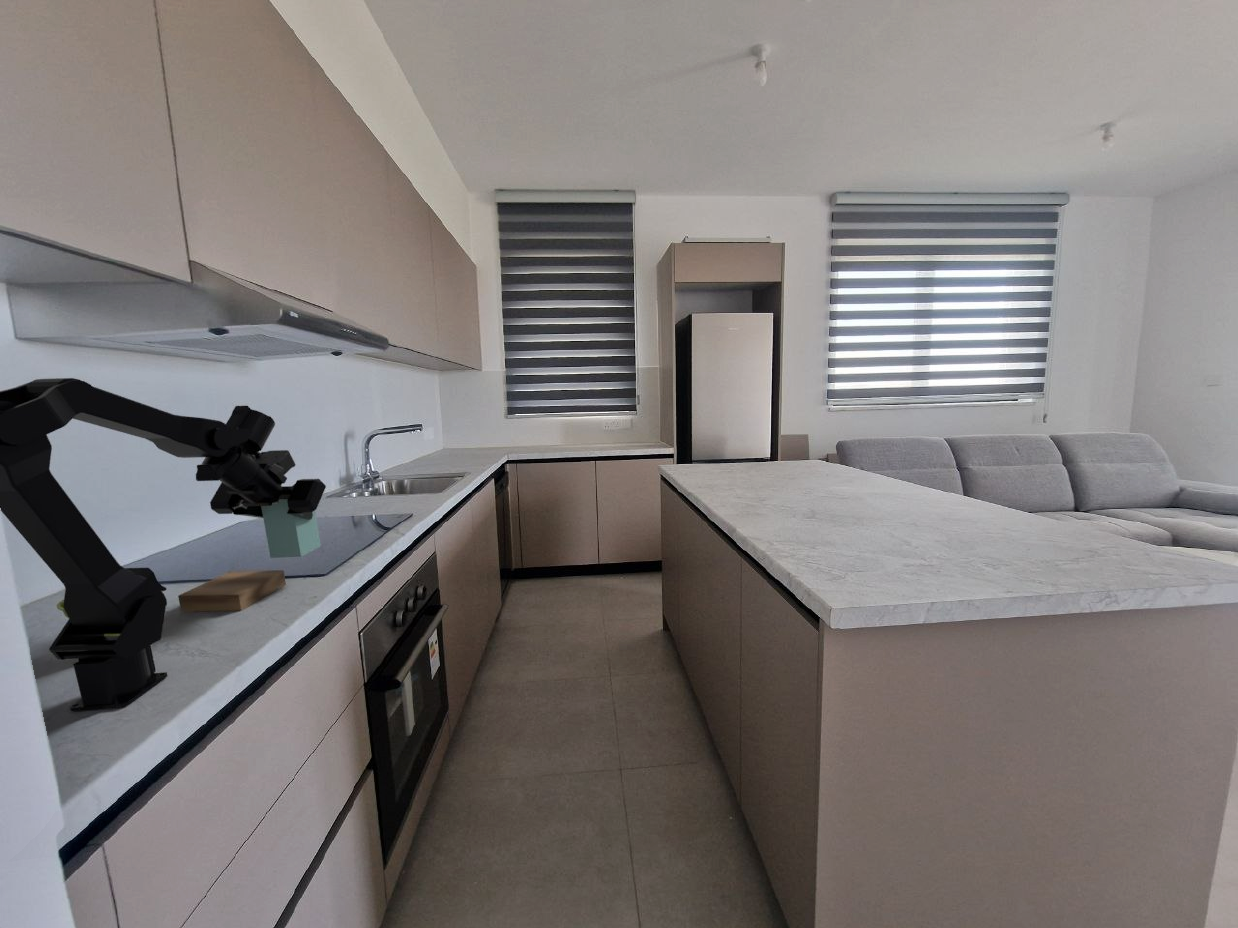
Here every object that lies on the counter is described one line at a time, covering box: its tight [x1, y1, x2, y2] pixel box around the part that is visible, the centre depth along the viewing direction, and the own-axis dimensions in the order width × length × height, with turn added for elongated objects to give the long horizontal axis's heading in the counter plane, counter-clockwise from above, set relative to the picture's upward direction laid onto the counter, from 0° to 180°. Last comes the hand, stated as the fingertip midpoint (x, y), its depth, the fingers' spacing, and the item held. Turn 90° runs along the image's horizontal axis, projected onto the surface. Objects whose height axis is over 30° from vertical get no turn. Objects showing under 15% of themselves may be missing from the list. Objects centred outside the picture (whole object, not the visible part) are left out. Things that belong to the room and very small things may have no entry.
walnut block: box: [177, 569, 287, 612], centre depth 88 cm, size 11×11×3 cm
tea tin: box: [261, 499, 322, 559], centre depth 92 cm, size 6×6×12 cm
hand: (295, 517), depth 93 cm, fingers closed on tea tin, 6 cm apart
